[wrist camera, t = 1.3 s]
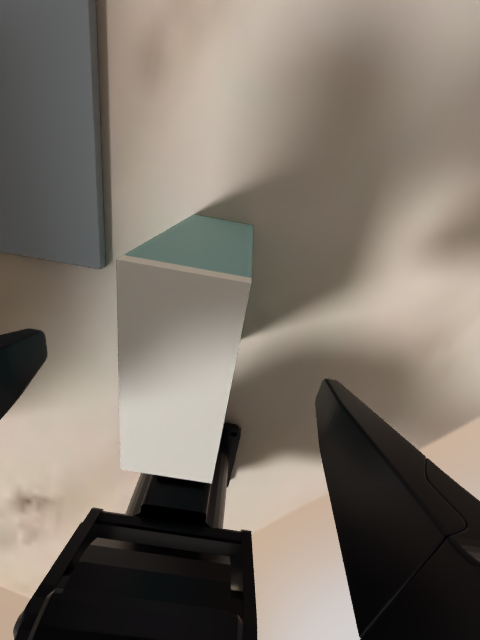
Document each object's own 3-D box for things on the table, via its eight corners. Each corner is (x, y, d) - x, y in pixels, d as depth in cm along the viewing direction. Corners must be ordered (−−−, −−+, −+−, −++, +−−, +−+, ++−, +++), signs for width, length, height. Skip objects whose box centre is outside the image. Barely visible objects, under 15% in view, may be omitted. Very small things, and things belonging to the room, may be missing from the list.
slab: (231, 343, 18) (211, 483, 9) (182, 335, 17) (120, 469, 9) (253, 225, 14) (251, 283, 6) (194, 214, 14) (116, 259, 6)
